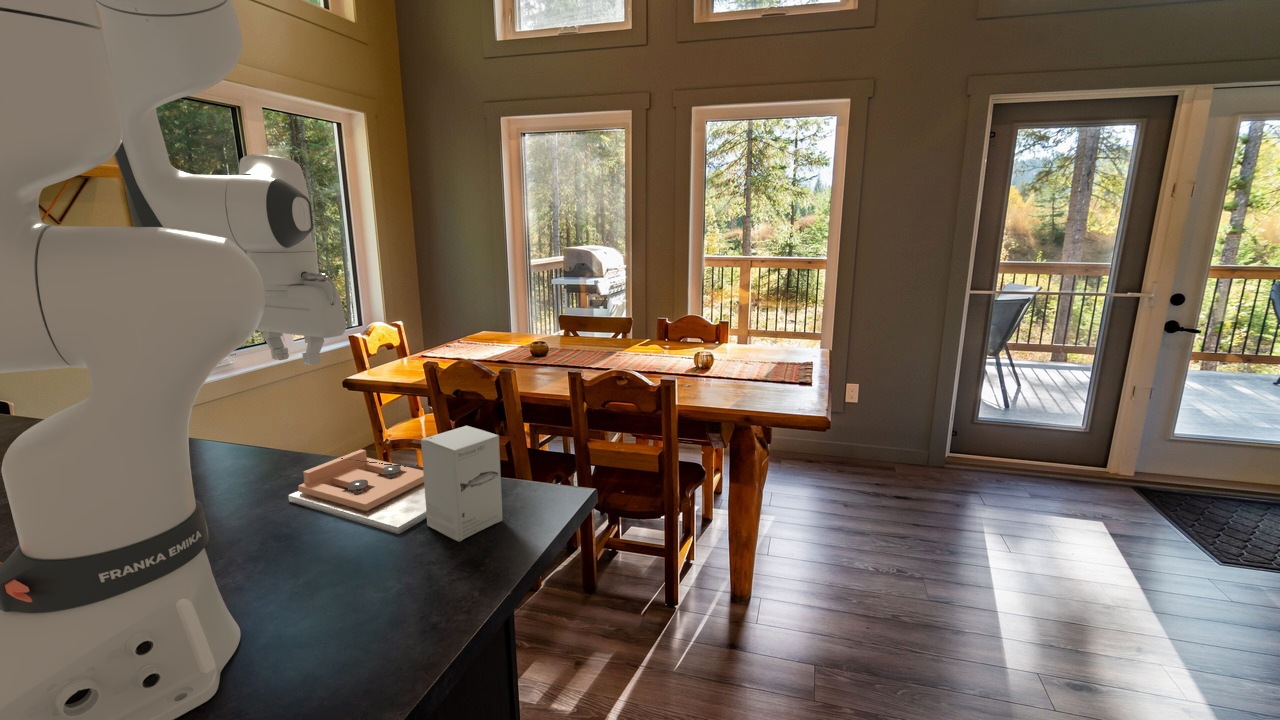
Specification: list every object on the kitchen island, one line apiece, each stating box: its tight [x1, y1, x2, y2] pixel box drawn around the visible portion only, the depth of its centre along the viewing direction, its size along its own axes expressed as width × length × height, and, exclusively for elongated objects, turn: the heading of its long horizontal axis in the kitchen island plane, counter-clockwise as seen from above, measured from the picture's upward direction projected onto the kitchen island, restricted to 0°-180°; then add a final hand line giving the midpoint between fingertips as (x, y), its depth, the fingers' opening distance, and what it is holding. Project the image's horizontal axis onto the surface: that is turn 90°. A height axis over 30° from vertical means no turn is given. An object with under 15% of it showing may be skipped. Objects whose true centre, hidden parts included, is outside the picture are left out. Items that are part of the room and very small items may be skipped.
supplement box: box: [420, 425, 504, 543], centre depth 76 cm, size 7×7×13 cm
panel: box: [298, 449, 424, 511], centre depth 86 cm, size 12×14×3 cm
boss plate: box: [287, 465, 427, 535], centre depth 85 cm, size 14×22×3 cm, turn 65°
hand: (296, 361), depth 88 cm, fingers open, 6 cm apart
